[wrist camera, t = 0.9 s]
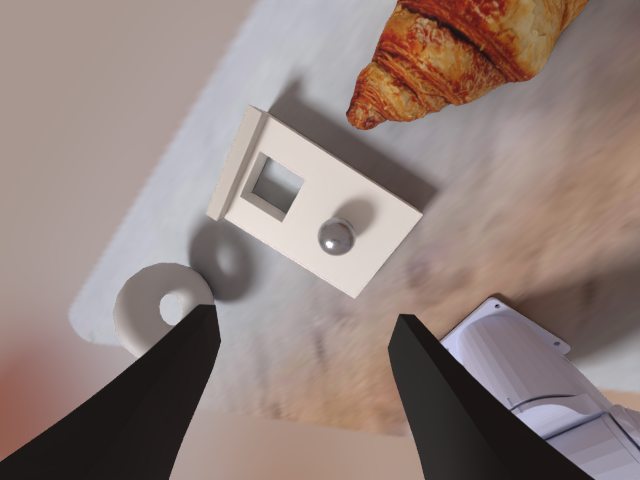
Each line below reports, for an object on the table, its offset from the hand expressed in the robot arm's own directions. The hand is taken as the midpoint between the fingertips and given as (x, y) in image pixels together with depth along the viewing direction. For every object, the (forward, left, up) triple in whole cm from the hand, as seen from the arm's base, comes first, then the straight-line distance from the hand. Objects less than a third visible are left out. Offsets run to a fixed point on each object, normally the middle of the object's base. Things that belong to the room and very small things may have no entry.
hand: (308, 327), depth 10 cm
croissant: (0, -18, -16) cm, 24 cm away
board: (+3, 0, -15) cm, 15 cm away
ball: (0, 0, -11) cm, 11 cm away
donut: (+10, +16, -15) cm, 24 cm away
